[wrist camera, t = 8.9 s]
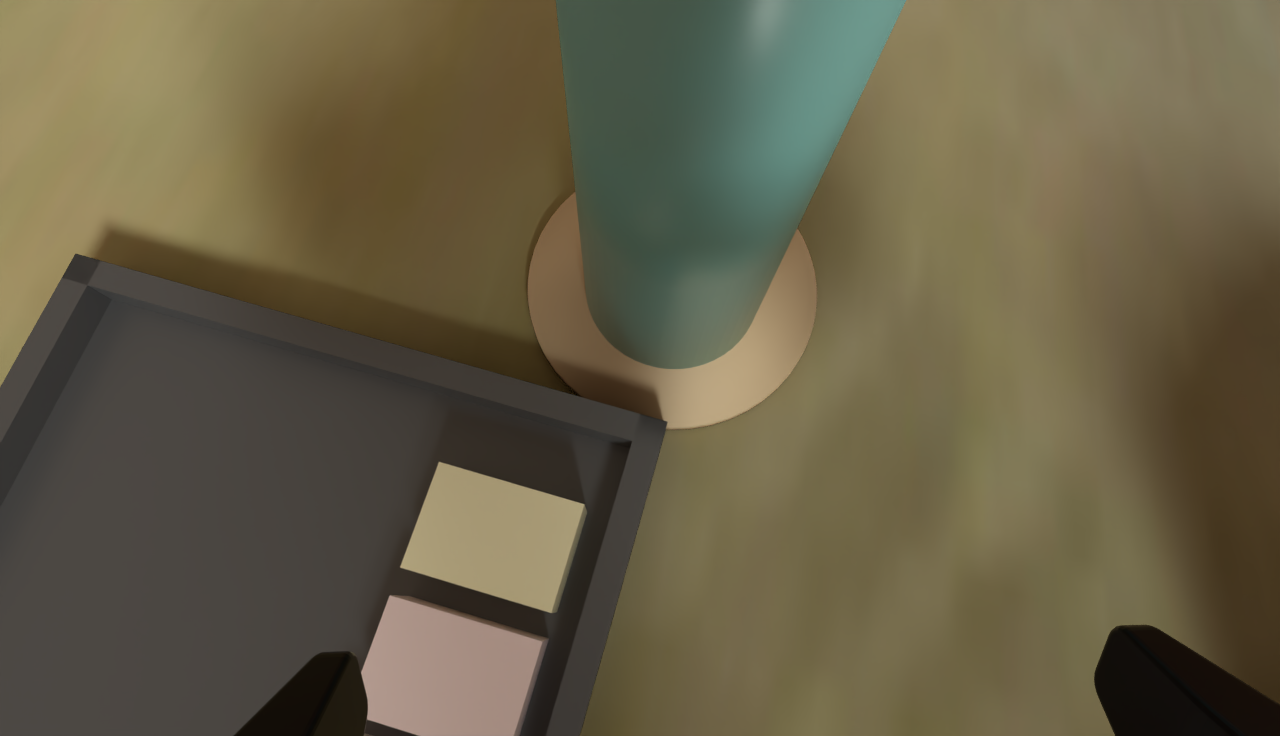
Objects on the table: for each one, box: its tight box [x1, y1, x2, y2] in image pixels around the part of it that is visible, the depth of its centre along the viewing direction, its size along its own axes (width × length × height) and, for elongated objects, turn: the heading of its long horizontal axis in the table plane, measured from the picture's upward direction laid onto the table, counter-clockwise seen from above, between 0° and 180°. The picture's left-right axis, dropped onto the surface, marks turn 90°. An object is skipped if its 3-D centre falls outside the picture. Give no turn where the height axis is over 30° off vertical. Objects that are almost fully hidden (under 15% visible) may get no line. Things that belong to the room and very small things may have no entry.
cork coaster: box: [528, 192, 817, 430], centre depth 24 cm, size 9×9×1 cm
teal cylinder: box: [556, 0, 906, 369], centre depth 16 cm, size 5×5×15 cm
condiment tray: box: [0, 254, 668, 736], centre depth 20 cm, size 18×15×2 cm
